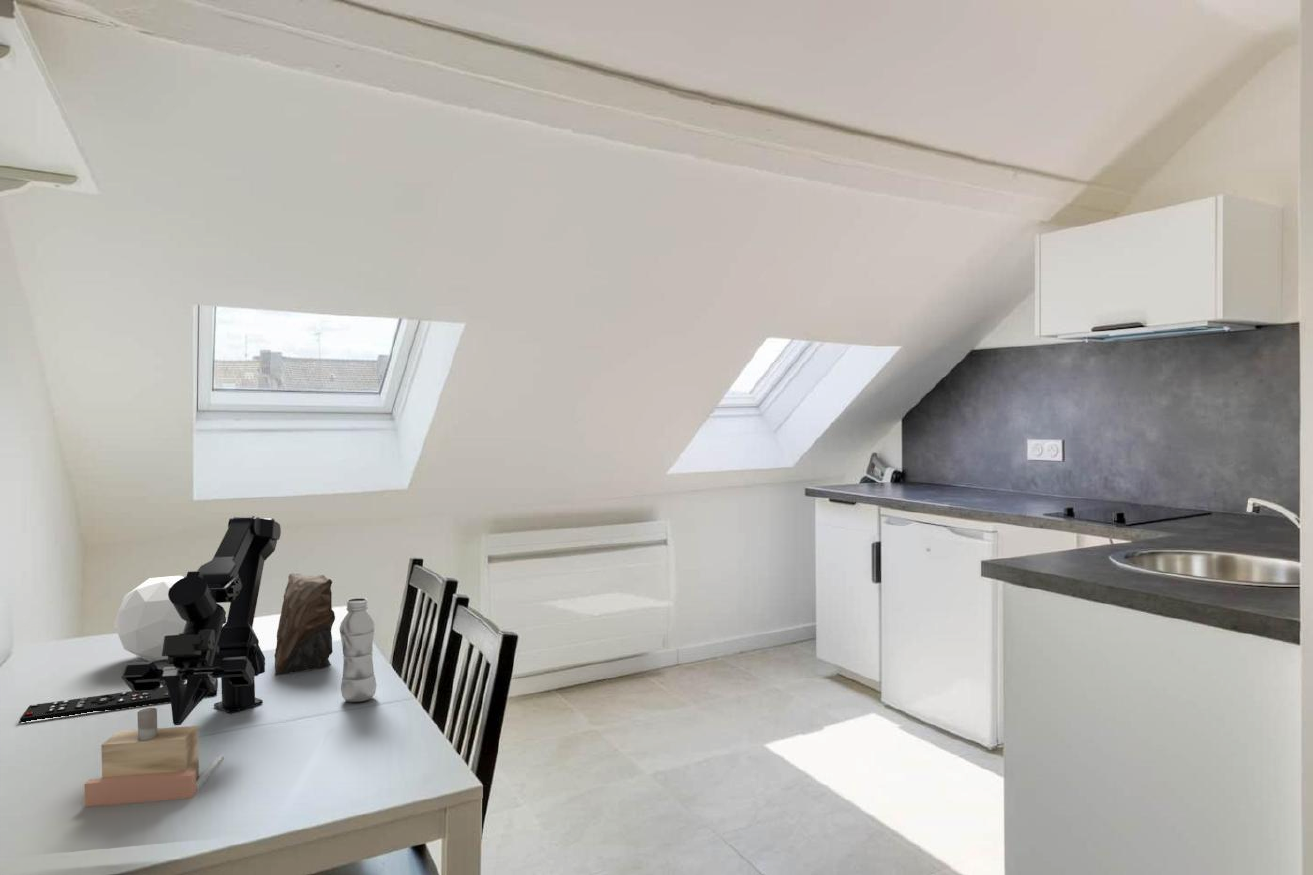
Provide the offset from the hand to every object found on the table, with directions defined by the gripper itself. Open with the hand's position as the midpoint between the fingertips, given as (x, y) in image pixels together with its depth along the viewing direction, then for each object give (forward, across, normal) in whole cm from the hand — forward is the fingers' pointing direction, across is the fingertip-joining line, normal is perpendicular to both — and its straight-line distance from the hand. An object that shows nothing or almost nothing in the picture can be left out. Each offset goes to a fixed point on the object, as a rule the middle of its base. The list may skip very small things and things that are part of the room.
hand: (176, 724), depth 127 cm
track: (+10, 0, 0) cm, 10 cm away
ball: (-39, -27, +51) cm, 70 cm away
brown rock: (-30, +5, +43) cm, 52 cm away
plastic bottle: (-13, +23, +25) cm, 36 cm away
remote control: (-18, -23, +30) cm, 42 cm away
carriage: (+11, 0, -2) cm, 11 cm away
